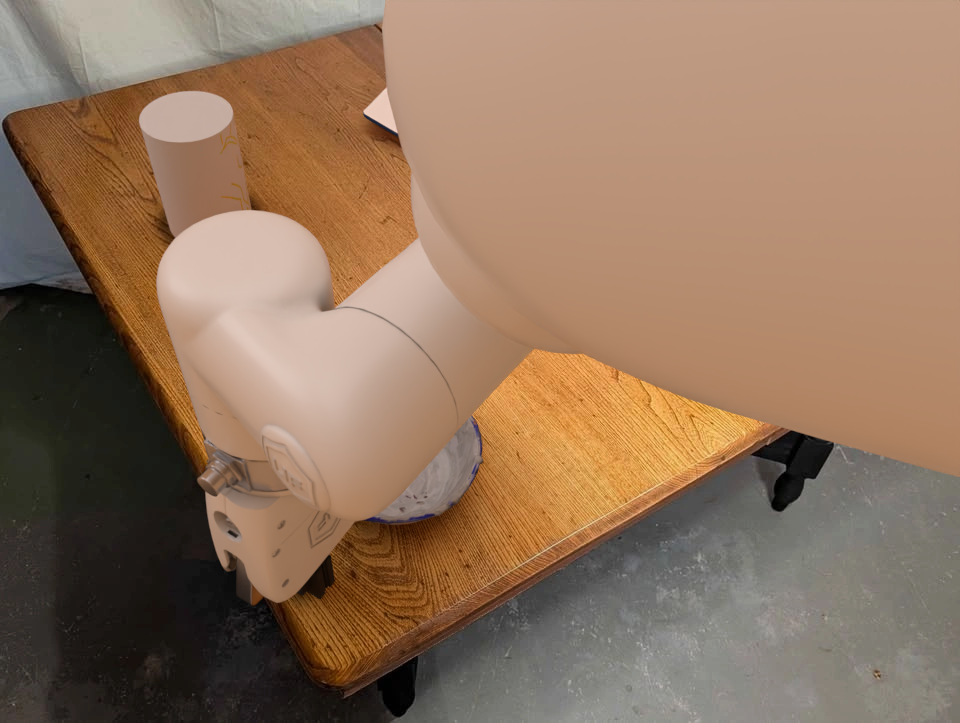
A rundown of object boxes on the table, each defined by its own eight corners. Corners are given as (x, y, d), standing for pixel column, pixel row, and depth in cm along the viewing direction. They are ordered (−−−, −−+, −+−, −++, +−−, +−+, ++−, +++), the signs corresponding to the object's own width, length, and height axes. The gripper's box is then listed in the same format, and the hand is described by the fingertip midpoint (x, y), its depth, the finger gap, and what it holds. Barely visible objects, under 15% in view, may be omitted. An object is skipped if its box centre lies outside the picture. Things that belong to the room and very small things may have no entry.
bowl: (467, 407, 71) (470, 370, 68) (491, 544, 63) (495, 510, 59) (311, 420, 70) (305, 383, 66) (314, 562, 61) (308, 529, 58)
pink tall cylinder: (256, 240, 84) (236, 136, 75) (170, 252, 82) (139, 147, 73) (248, 190, 89) (229, 87, 80) (167, 199, 87) (138, 95, 78)
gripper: (235, 565, 40) (283, 702, 54) (412, 364, 49) (414, 526, 63) (119, 491, 42) (193, 641, 56) (308, 312, 51) (332, 479, 65)
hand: (310, 580), depth 59 cm, fingers closed
